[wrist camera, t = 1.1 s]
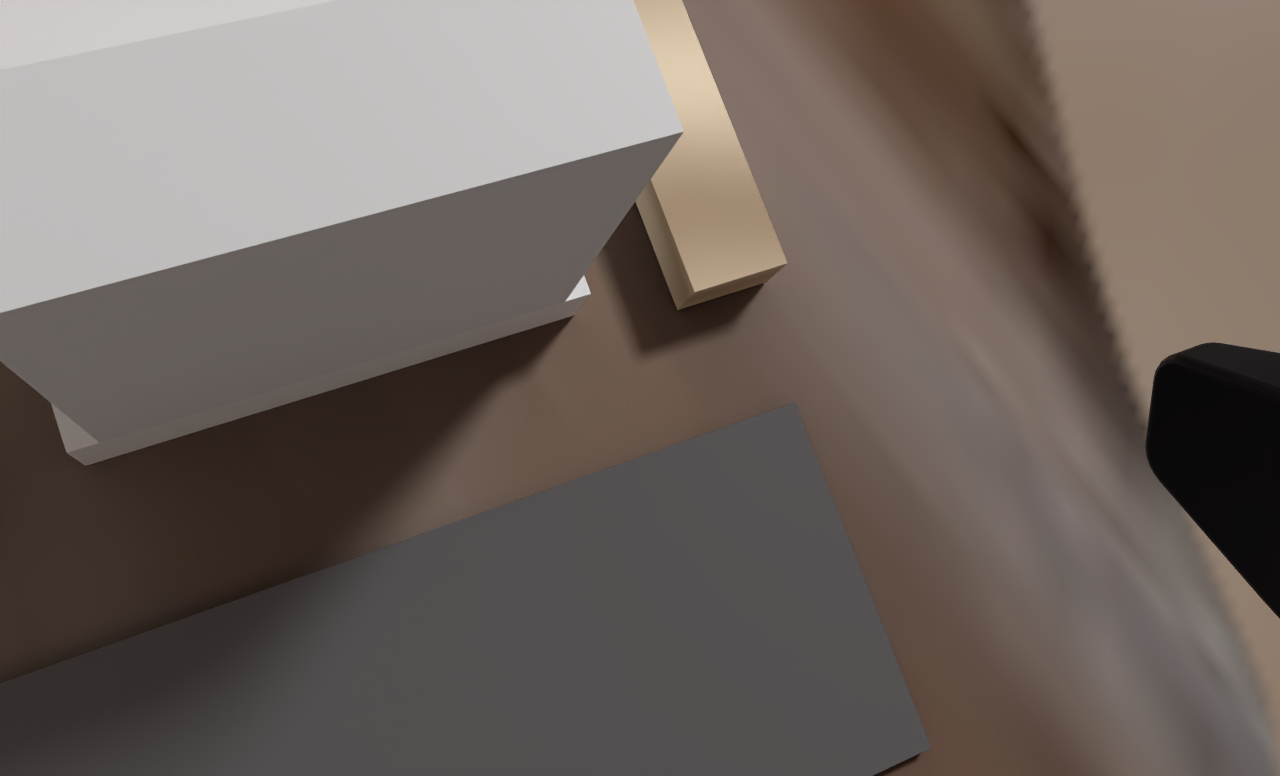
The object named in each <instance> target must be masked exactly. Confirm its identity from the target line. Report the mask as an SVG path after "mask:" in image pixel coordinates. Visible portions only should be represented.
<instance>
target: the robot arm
mask: <svg viewBox="0 0 1280 776" xmlns="http://www.w3.org/2000/svg"><path fill="white" fill-rule="evenodd" d="M1145 449H1146V456H1147V459H1148V462H1149V465H1150V467H1151V469H1152V471H1153V473H1154V474H1155V476H1156V477H1157V478H1158V480H1159V481H1160V482H1161V483H1162V484H1163V486H1164V487H1165V488H1166V489H1167V490H1168V491H1169V493H1170V494H1171V495H1172V496H1173V497H1174V498H1175V499H1176V501H1177V502H1178V503H1179V504H1180V505H1181V506H1182V508H1183V509H1184V510H1185V511H1186V512H1187V513H1188V514H1189V516H1190V517H1191V518H1192V519H1193V520H1194V521H1195V523H1196V524H1197V525H1198V526H1199V527H1200V528H1201V529H1202V531H1203V532H1204V533H1205V534H1206V535H1207V536H1208V538H1209V539H1210V540H1211V541H1212V542H1213V543H1214V544H1215V546H1216V547H1217V548H1218V549H1219V550H1220V551H1221V552H1222V554H1223V555H1224V556H1225V557H1226V558H1227V559H1228V561H1229V562H1230V563H1231V564H1232V565H1233V566H1234V567H1235V569H1236V570H1237V571H1238V572H1239V573H1240V574H1241V575H1242V577H1243V578H1244V579H1245V580H1246V581H1247V582H1248V584H1249V585H1250V586H1251V587H1252V588H1253V589H1254V591H1256V593H1257V594H1258V595H1259V596H1260V597H1261V599H1262V600H1263V601H1264V602H1265V603H1266V604H1267V605H1268V606H1269V607H1270V608H1271V610H1272V611H1273V612H1274V613H1275V614H1276V615H1277V616H1278V617H1279V618H1280V353H1276V352H1270V351H1265V350H1258V349H1252V348H1247V347H1240V346H1235V345H1228V344H1223V343H1204V344H1201V345H1198V346H1195V347H1192V348H1190V349H1187V350H1184V351H1182V352H1178V353H1176V354H1173V355H1170V356H1168V357H1167V358H1165V359H1164V360H1163V361H1161V363H1160V365H1159V366H1158V368H1157V370H1156V371H1155V376H1154V381H1153V389H1152V396H1151V404H1150V412H1149V419H1148V427H1147V435H1146V444H1145Z"/></svg>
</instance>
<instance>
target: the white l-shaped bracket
mask: <svg viewBox="0 0 1280 776" xmlns="http://www.w3.org/2000/svg"><path fill="white" fill-rule="evenodd" d="M683 132H684V130H683V128H682V125H681V122H680V120H679V117H678V115H677V112H676V109H675V107H674V104H673V102H672V99H671V96H670V94H669V91H668V89H667V86H666V83H665V81H664V78H663V76H662V73H661V71H660V68H659V65H658V63H657V60H656V58H655V55H654V52H653V50H652V47H651V45H650V42H649V39H648V37H647V34H646V32H645V29H644V26H643V24H642V21H641V19H640V16H639V13H638V11H637V8H636V6H635V3H634V0H0V361H1V362H2V363H3V364H4V365H5V366H7V367H8V368H9V369H10V370H11V371H13V372H14V373H15V374H16V375H18V376H19V377H20V378H21V379H22V380H24V381H25V382H26V383H27V384H29V385H30V386H31V387H32V388H33V389H35V390H36V391H37V392H38V393H39V394H41V395H42V396H43V397H44V398H46V399H47V400H48V401H49V402H50V403H51V405H52V409H53V412H54V415H55V418H56V421H57V424H58V428H59V431H60V434H61V437H62V440H63V443H64V447H65V450H66V453H67V454H69V455H70V456H72V457H73V458H75V459H76V460H78V461H79V462H81V463H82V464H83V465H85V466H87V465H90V464H93V463H97V462H100V461H103V460H106V459H110V458H113V457H116V456H119V455H123V454H126V453H129V452H132V451H135V450H139V449H142V448H145V447H148V446H152V445H155V444H158V443H161V442H165V441H168V440H171V439H174V438H178V437H181V436H184V435H187V434H191V433H194V432H197V431H200V430H204V429H207V428H210V427H213V426H217V425H220V424H223V423H226V422H230V421H233V420H236V419H239V418H243V417H246V416H249V415H252V414H256V413H259V412H262V411H265V410H269V409H272V408H275V407H278V406H282V405H285V404H288V403H291V402H295V401H298V400H301V399H304V398H308V397H311V396H314V395H317V394H321V393H324V392H327V391H330V390H334V389H337V388H340V387H343V386H347V385H350V384H353V383H356V382H360V381H363V380H366V379H369V378H373V377H376V376H379V375H382V374H386V373H389V372H392V371H395V370H399V369H402V368H405V367H408V366H411V365H415V364H418V363H421V362H424V361H428V360H431V359H434V358H437V357H441V356H444V355H447V354H450V353H454V352H457V351H460V350H463V349H467V348H470V347H473V346H476V345H480V344H483V343H486V342H489V341H493V340H496V339H499V338H502V337H506V336H509V335H512V334H515V333H519V332H522V331H525V330H528V329H532V328H535V327H538V326H541V325H545V324H548V323H551V322H554V321H558V320H561V319H564V318H567V317H571V316H574V315H575V314H576V313H577V311H578V310H579V309H580V308H581V306H582V305H583V304H584V302H585V301H586V300H587V298H588V297H589V296H590V294H591V293H590V290H589V287H588V285H587V282H586V279H585V277H584V274H585V273H586V271H587V270H588V268H589V267H590V265H591V264H592V263H593V261H594V260H595V258H596V257H597V255H598V254H599V253H600V251H601V250H602V248H603V247H604V245H605V244H606V243H607V241H608V240H609V238H610V237H611V235H612V234H613V233H614V231H615V230H616V228H617V227H618V225H619V224H620V223H621V221H622V220H623V218H624V217H625V215H626V214H627V213H628V211H629V210H630V208H631V207H632V205H633V204H634V203H635V201H636V200H637V198H638V197H639V195H640V194H641V192H642V191H643V190H644V188H645V187H646V185H647V184H648V182H649V181H650V180H651V178H652V177H653V175H654V174H655V172H656V171H657V170H658V168H659V167H660V165H661V164H662V162H663V161H664V160H665V158H666V157H667V155H668V154H669V152H670V151H671V150H672V148H673V147H674V145H675V144H676V142H677V141H678V140H679V138H680V137H681V135H682V134H683Z"/></svg>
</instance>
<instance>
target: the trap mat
mask: <svg viewBox="0 0 1280 776" xmlns="http://www.w3.org/2000/svg"><path fill="white" fill-rule="evenodd" d="M930 748H931V745H930V743H929V740H928V738H927V735H926V733H925V730H924V728H923V725H922V723H921V720H920V718H919V715H918V713H917V710H916V707H915V705H914V702H913V700H912V697H911V695H910V692H909V690H908V687H907V685H906V682H905V680H904V677H903V675H902V672H901V670H900V667H899V665H898V662H897V659H896V657H895V654H894V652H893V649H892V647H891V644H890V642H889V639H888V637H887V634H886V632H885V629H884V627H883V624H882V622H881V619H880V617H879V614H878V611H877V609H876V606H875V604H874V601H873V599H872V596H871V594H870V591H869V589H868V586H867V584H866V581H865V579H864V576H863V574H862V571H861V569H860V566H859V563H858V561H857V558H856V556H855V553H854V551H853V548H852V546H851V543H850V541H849V538H848V536H847V533H846V531H845V528H844V526H843V523H842V521H841V518H840V515H839V513H838V510H837V508H836V505H835V503H834V500H833V498H832V495H831V493H830V490H829V488H828V485H827V483H826V480H825V478H824V475H823V473H822V470H821V467H820V465H819V462H818V460H817V457H816V455H815V452H814V450H813V447H812V445H811V442H810V440H809V437H808V435H807V432H806V430H805V427H804V425H803V422H802V419H801V417H800V414H799V412H798V409H797V407H796V404H795V402H794V403H792V404H789V405H786V406H783V407H780V408H777V409H775V410H772V411H769V412H766V413H763V414H761V415H758V416H755V417H752V418H749V419H746V420H744V421H741V422H738V423H735V424H732V425H729V426H727V427H724V428H721V429H718V430H715V431H712V432H710V433H707V434H704V435H701V436H698V437H695V438H693V439H690V440H687V441H684V442H681V443H678V444H676V445H673V446H670V447H667V448H664V449H661V450H659V451H656V452H653V453H650V454H647V455H644V456H642V457H639V458H636V459H633V460H630V461H627V462H625V463H622V464H619V465H616V466H613V467H611V468H608V469H605V470H602V471H599V472H596V473H594V474H591V475H588V476H585V477H582V478H579V479H577V480H574V481H571V482H568V483H565V484H562V485H560V486H557V487H554V488H551V489H548V490H545V491H543V492H540V493H537V494H534V495H531V496H528V497H526V498H523V499H520V500H517V501H514V502H511V503H509V504H506V505H503V506H500V507H497V508H494V509H492V510H489V511H486V512H483V513H480V514H477V515H475V516H472V517H469V518H466V519H463V520H461V521H458V522H455V523H452V524H449V525H446V526H444V527H441V528H438V529H435V530H432V531H429V532H427V533H424V534H421V535H418V536H415V537H412V538H410V539H407V540H404V541H401V542H398V543H395V544H393V545H390V546H387V547H384V548H381V549H378V550H376V551H373V552H370V553H367V554H364V555H361V556H359V557H356V558H353V559H350V560H347V561H344V562H342V563H339V564H336V565H333V566H330V567H327V568H325V569H322V570H319V571H316V572H313V573H311V574H308V575H305V576H302V577H299V578H296V579H294V580H291V581H288V582H285V583H282V584H279V585H277V586H274V587H271V588H268V589H265V590H262V591H260V592H257V593H254V594H251V595H248V596H245V597H243V598H240V599H237V600H234V601H231V602H228V603H226V604H223V605H220V606H217V607H214V608H211V609H209V610H206V611H203V612H200V613H197V614H194V615H192V616H189V617H186V618H183V619H180V620H177V621H175V622H172V623H169V624H166V625H163V626H161V627H158V628H155V629H152V630H149V631H146V632H144V633H141V634H138V635H135V636H132V637H129V638H127V639H124V640H121V641H118V642H115V643H112V644H110V645H107V646H104V647H101V648H98V649H95V650H93V651H90V652H87V653H84V654H81V655H78V656H76V657H73V658H70V659H67V660H64V661H61V662H59V663H56V664H53V665H50V666H47V667H44V668H42V669H39V670H36V671H33V672H30V673H27V674H25V675H22V676H19V677H16V678H13V679H11V680H8V681H5V682H2V683H0V776H873V775H875V774H877V773H879V772H882V771H884V770H886V769H888V768H890V767H892V766H894V765H896V764H898V763H901V762H903V761H905V760H907V759H909V758H911V757H913V756H915V755H917V754H919V753H922V752H924V751H926V750H928V749H930Z"/></svg>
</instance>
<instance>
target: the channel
mask: <svg viewBox="0 0 1280 776" xmlns="http://www.w3.org/2000/svg"><path fill="white" fill-rule="evenodd" d="M634 3H635V6H636V8H637V11H638V13H639V16H640V19H641V21H642V24H643V26H644V29H645V32H646V34H647V37H648V39H649V42H650V45H651V47H652V50H653V52H654V55H655V58H656V60H657V63H658V65H659V68H660V71H661V73H662V76H663V78H664V81H665V83H666V86H667V89H668V91H669V94H670V96H671V99H672V102H673V104H674V107H675V109H676V112H677V115H678V117H679V120H680V122H681V125H682V128H683V130H684V132H683V134H682V135H681V137H680V138H679V140H678V141H677V142H676V144H675V145H674V147H673V148H672V150H671V151H670V152H669V154H668V155H667V157H666V158H665V160H664V161H663V162H662V164H661V165H660V167H659V168H658V170H657V171H656V172H655V174H654V175H653V177H652V178H651V180H650V181H649V182H648V184H647V185H646V187H645V188H644V190H643V191H642V192H641V194H640V195H639V197H638V198H637V200H636V201H635V202H636V205H637V207H638V210H639V212H640V215H641V217H642V220H643V223H644V225H645V228H646V230H647V233H648V236H649V238H650V241H651V243H652V246H653V249H654V251H655V254H656V256H657V259H658V261H659V264H660V267H661V269H662V272H663V274H664V277H665V280H666V282H667V285H668V287H669V290H670V293H671V295H672V298H673V300H674V303H675V305H676V308H677V310H680V309H683V308H686V307H689V306H692V305H696V304H699V303H702V302H705V301H708V300H711V299H715V298H718V297H721V296H724V295H727V294H730V293H734V292H737V291H740V290H743V289H746V288H749V287H753V286H756V285H759V284H762V283H765V282H767V281H768V280H769V279H770V278H771V277H773V276H774V275H775V274H776V273H777V272H778V271H779V270H780V269H782V268H783V267H784V266H785V265H786V264H787V261H786V258H785V256H784V253H783V251H782V248H781V246H780V243H779V241H778V238H777V236H776V234H775V231H774V229H773V226H772V224H771V221H770V219H769V216H768V214H767V211H766V209H765V206H764V204H763V201H762V199H761V196H760V194H759V191H758V189H757V186H756V184H755V181H754V179H753V176H752V174H751V171H750V169H749V166H748V164H747V161H746V159H745V156H744V154H743V151H742V149H741V146H740V144H739V141H738V139H737V136H736V134H735V131H734V129H733V126H732V124H731V121H730V119H729V116H728V114H727V111H726V109H725V106H724V104H723V101H722V99H721V96H720V94H719V92H718V89H717V87H716V84H715V82H714V79H713V77H712V74H711V72H710V69H709V67H708V64H707V62H706V59H705V57H704V54H703V52H702V49H701V47H700V44H699V42H698V39H697V37H696V34H695V32H694V29H693V27H692V24H691V22H690V19H689V17H688V14H687V12H686V9H685V7H684V4H683V2H682V0H634Z"/></svg>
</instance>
